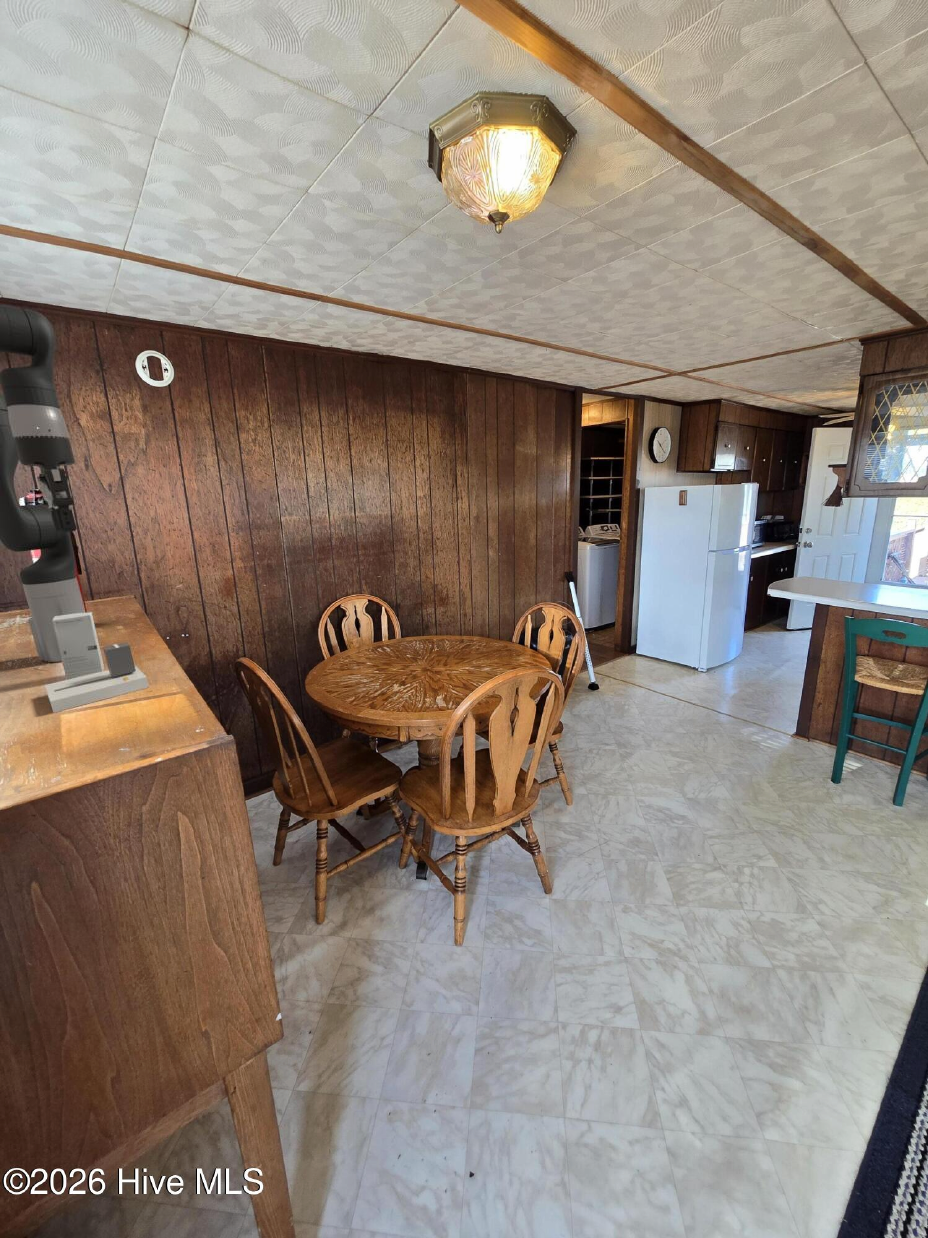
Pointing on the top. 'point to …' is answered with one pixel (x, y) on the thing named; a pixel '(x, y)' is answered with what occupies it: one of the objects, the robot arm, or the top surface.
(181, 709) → the top surface
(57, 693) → the fader console
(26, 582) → the robot arm
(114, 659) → the fader knob
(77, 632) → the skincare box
